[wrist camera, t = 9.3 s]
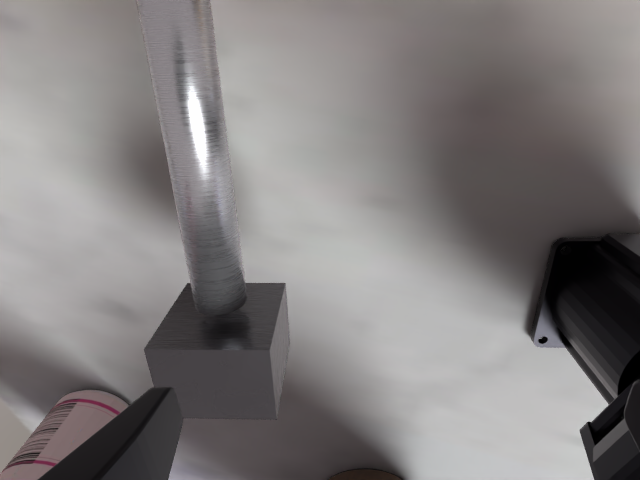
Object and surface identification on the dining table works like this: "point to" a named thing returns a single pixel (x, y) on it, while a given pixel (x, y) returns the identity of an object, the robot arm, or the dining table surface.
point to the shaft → (208, 236)
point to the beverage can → (63, 432)
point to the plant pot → (365, 475)
